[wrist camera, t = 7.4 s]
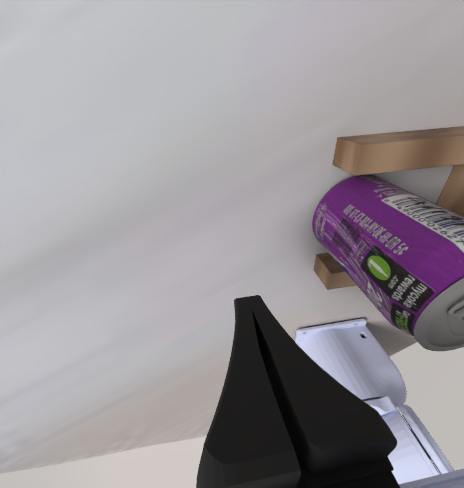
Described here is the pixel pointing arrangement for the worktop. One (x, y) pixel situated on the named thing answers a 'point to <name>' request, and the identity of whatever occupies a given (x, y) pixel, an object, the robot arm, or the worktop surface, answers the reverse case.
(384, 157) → the pin nest
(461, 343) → the beverage can
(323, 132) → the worktop surface
